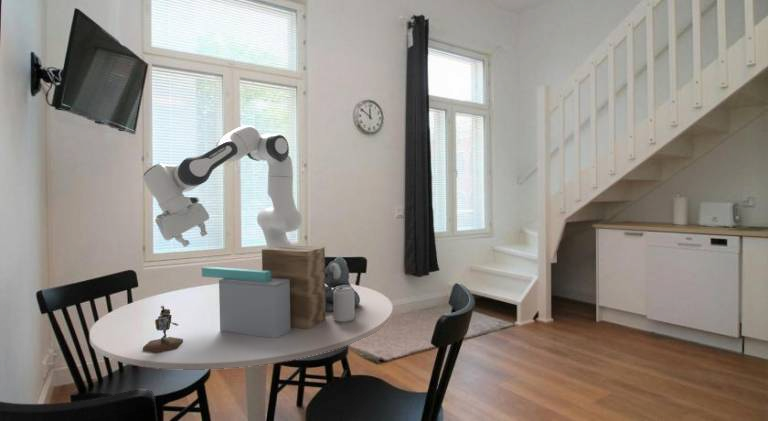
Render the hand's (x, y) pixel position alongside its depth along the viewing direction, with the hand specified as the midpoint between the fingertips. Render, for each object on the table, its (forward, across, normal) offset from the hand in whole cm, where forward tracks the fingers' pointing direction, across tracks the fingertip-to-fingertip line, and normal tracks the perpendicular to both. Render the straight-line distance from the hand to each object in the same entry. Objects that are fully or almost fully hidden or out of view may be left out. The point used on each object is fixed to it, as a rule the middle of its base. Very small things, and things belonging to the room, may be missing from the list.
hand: (196, 240), depth 152 cm
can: (+49, +3, -37) cm, 61 cm away
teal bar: (+17, -10, -16) cm, 25 cm away
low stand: (+34, -15, -17) cm, 41 cm away
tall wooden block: (+41, -3, -23) cm, 47 cm away
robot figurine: (+22, -34, -2) cm, 41 cm away
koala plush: (+50, +18, -27) cm, 59 cm away
